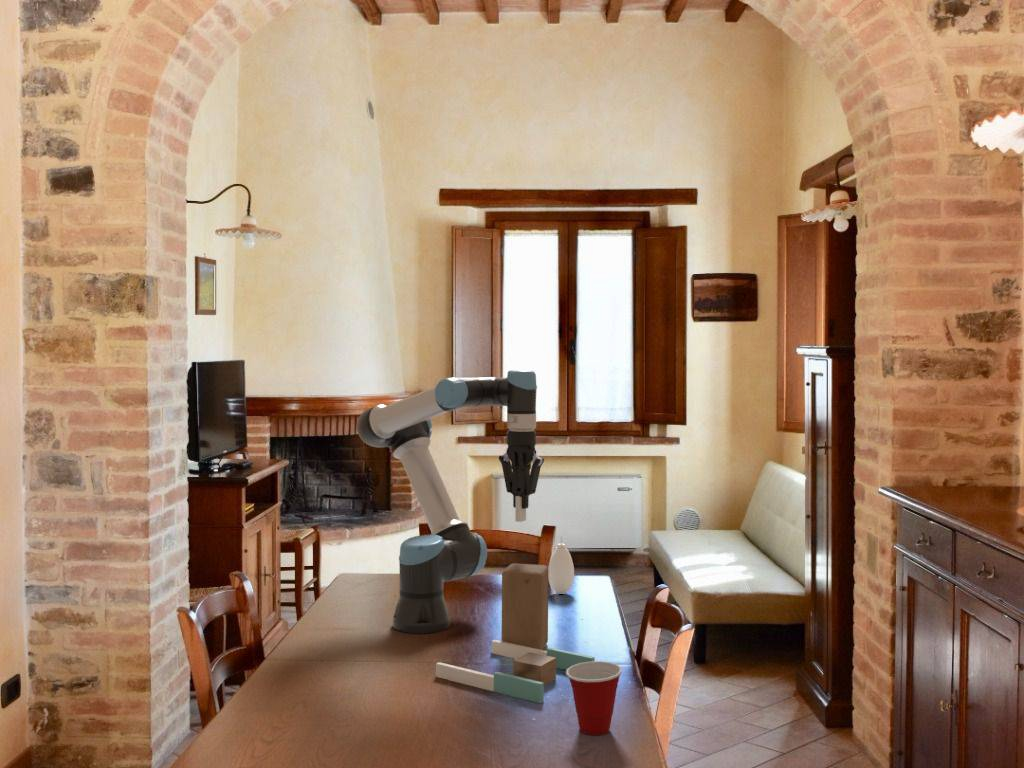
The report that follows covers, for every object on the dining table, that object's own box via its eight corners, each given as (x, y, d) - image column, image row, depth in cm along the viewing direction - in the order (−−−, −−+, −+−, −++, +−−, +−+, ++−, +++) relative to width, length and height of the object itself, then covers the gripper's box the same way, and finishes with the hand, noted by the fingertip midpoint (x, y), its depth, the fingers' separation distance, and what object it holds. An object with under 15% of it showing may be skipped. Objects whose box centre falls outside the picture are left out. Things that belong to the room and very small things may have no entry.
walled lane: (435, 676, 216) (435, 659, 216) (494, 651, 234) (494, 635, 234) (540, 703, 200) (540, 684, 200) (594, 674, 218) (594, 657, 218)
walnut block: (512, 683, 213) (513, 660, 212) (528, 674, 219) (529, 652, 218) (540, 688, 209) (540, 666, 209) (555, 679, 215) (556, 657, 215)
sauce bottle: (544, 592, 294) (545, 533, 294) (569, 590, 296) (569, 532, 295) (552, 598, 286) (552, 538, 286) (577, 596, 288) (577, 537, 288)
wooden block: (540, 655, 231) (541, 573, 231) (500, 652, 234) (500, 570, 233) (548, 643, 241) (549, 564, 241) (509, 640, 244) (510, 562, 243)
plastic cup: (561, 719, 191) (562, 660, 190) (615, 718, 192) (616, 658, 191) (569, 741, 180) (570, 678, 180) (626, 740, 181) (627, 677, 181)
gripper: (492, 429, 249) (491, 520, 250) (534, 432, 242) (533, 525, 242) (509, 427, 255) (508, 516, 256) (550, 430, 248) (549, 521, 249)
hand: (520, 520), depth 249 cm, fingers closed
